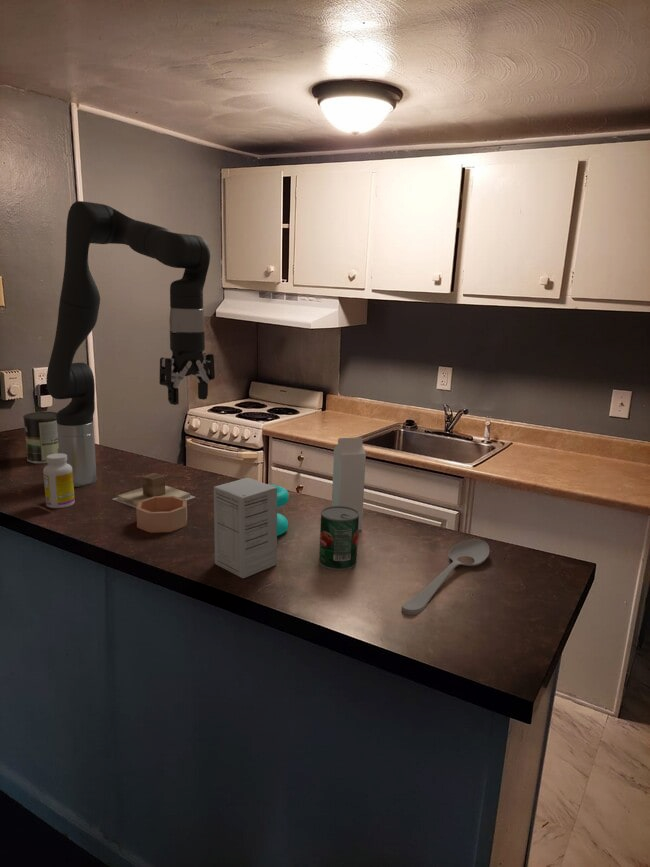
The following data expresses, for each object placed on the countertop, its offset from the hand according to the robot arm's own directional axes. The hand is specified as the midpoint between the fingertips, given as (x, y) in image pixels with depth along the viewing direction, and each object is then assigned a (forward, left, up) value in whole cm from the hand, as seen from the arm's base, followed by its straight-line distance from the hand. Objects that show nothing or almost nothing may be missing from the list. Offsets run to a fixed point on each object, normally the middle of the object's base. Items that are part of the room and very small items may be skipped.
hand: (188, 401), depth 136 cm
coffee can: (-72, +6, -30) cm, 78 cm away
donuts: (+17, +8, -30) cm, 35 cm away
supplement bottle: (-33, -13, -30) cm, 46 cm away
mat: (-18, +4, -29) cm, 35 cm away
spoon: (+60, +13, -30) cm, 68 cm away
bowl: (-4, -5, -29) cm, 30 cm away
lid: (-18, +4, -29) cm, 35 cm away
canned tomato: (+39, +5, -30) cm, 49 cm away
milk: (+30, +22, -30) cm, 47 cm away
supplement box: (+25, -8, -30) cm, 40 cm away
